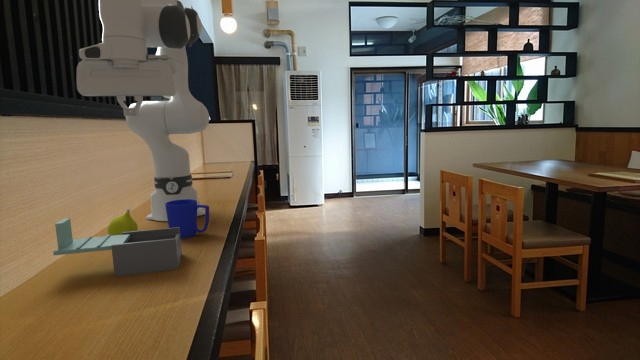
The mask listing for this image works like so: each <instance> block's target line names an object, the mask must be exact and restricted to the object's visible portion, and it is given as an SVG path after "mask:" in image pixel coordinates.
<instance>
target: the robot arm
mask: <svg viewBox="0 0 640 360" xmlns="http://www.w3.org/2000/svg"><path fill="white" fill-rule="evenodd" d="M98 11H99V19H100V21H101V24H102V35H101V36H102V37H101V41H102V42H101V43H97V44H94V45H90V46H87V47H83V48H80V49H79V51H78V54H79V58H80V59H81V61H80V62H78V64H77V66H76V90H77V91H78V93H79V94H80V95H81V96H85V97H116V101H117V103H118V104H119V105H120V106H121V108H122V109H123V116H124V117H125V121H126V124H127V126H128V128H129V129H130V131H132V132H133V133H134V134H136V135H138V136H139V137H140V138H141V139H142V140H143V141H144V142H145V143H146V145H147V146H148V149H150V152H151V155H152V159H153V166H154V174H155V175H154V177H153V179H154V180H153V183H154V188H155V189H154V190H153V192H151V194H150V210H151V211H150V212H151V213H149V214H148V215H146V220H154V221H158V222H168V219H167V213H166V207H165V203H167V202H169V201H174V200H182V199H193V200H196V201H197V205H200V201H199V197H198V195H199V194H198V191H197V190H196V189H195V188H194V187H193V176H192V174H191V165H190V163H191V162H190V154H189V152H188V151H187V149H186V148H184V147H183V146H180V145H178V144H176V143H174V142H172V140H171V138H170V137H169V135H191V134H195V133H199V132H204V131H205V130H206V129H207V127H208V125H209V122H210V113H209V111H208V109H207V107H206V106H205V105H204V103H203V102H201V101H199V100H198V99H196V98H195V97H194V96H193V95H192V93H191V91H190V88H189V62H188V55H187V50H186V46H188V47H189V48H191V47H192V46H193V43H195V42H197V40H198V39H199V38H200V35H201V33H202V32H201V31H202V20H201V18H200V16H199V13H198V12H197V11H196V9H193V8H189V7H187V6H186V7H184V5H183V3H182V1H180V0H98ZM148 48H157V50H156V53H155V54H148ZM126 97H134V100H135V101H136V102H134V103H131V104H130V105H129V107H128V106H127V104H125V102H126V101H127V100H126ZM144 97H164V98H166V100H144ZM167 99H168V100H167ZM203 215H206V210H204V208H198V209H197V217H199V216H203Z"/></svg>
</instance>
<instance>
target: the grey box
mask: <svg viewBox="0 0 640 360" xmlns="http://www.w3.org/2000/svg"><path fill="white" fill-rule="evenodd" d="M125 234H130V239H129V240H128V241H127V243H122V244H112V245H111V247H112V250H111V253H112V263H113V265H112V266H113V271H114V272H113V273H114V278H116V277H123V276H124V277H125V276H133V275H143V274H150V273H151V274H152V273H159V272H169V271H176V270H179V269H180V263H181V260H182V257H183V254H182V253H183V252H182V240H181V237H180V227H175V228H169V227H166V228H165V227H164V228H155V229H143V230H137V231H130V232H122V235H125Z"/></svg>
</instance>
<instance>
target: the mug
mask: <svg viewBox="0 0 640 360" xmlns="http://www.w3.org/2000/svg"><path fill="white" fill-rule="evenodd" d="M165 207H166V213H167V219H168V221H167V223H168V228H175V227H180V237H181V239H188V238H192V237H194V236H196V235H197V233H200V234H202V233H204V232H206V231H207V229H208V227H209V222H210V206H209V205H208V204H206V205H205V204H199V205H197V201H196V200H193V199H182V200H174V201H169V202H167V203H165ZM198 208H202V209H205V210H204V211H205V222H204V227H203V229H199V228H198V216H197V209H198Z"/></svg>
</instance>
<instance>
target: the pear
mask: <svg viewBox="0 0 640 360" xmlns="http://www.w3.org/2000/svg"><path fill="white" fill-rule="evenodd" d="M130 211H131V208H130V207H128V209H126V212H125V213H124V214H122V215H120V216H117V217H115V218H113V219H112V220H111V221H110V222H109V224H108V226H107V235H110V236H114V235H122V232H130V231H139V230H138V229H139V227H138V224H137V222H136V221H135V219H133V217H132V216H131V215H130Z"/></svg>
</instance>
